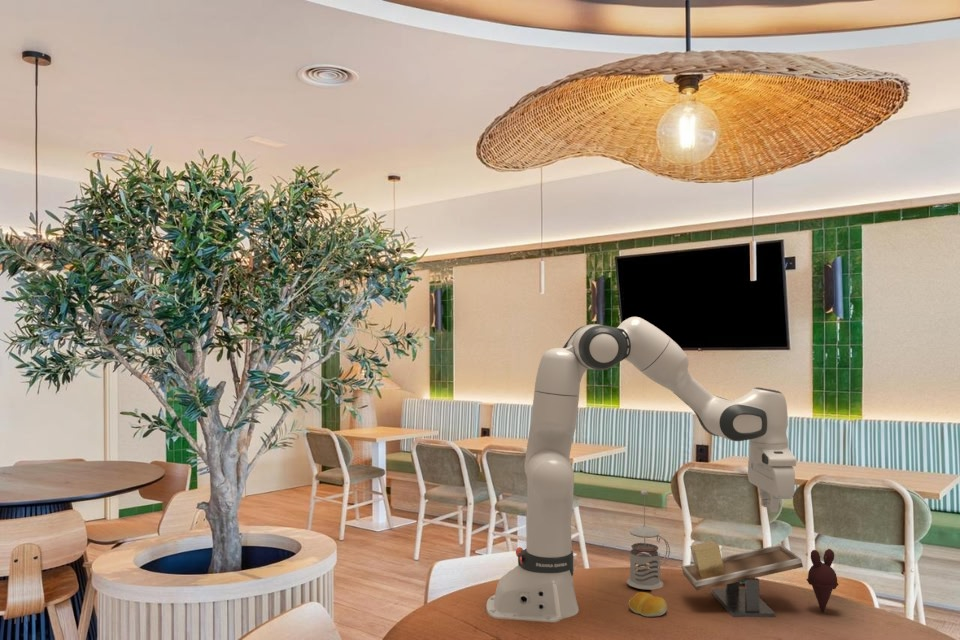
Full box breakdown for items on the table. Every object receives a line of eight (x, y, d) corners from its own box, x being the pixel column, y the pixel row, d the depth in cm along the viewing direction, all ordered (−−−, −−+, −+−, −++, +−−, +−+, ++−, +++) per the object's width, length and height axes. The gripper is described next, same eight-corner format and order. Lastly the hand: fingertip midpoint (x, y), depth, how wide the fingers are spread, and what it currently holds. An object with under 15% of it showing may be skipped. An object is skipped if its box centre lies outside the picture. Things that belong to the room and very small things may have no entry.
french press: (621, 577, 194) (621, 486, 194) (662, 575, 195) (661, 485, 195) (633, 590, 184) (632, 494, 184) (675, 588, 185) (675, 493, 186)
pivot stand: (733, 618, 166) (732, 580, 166) (711, 593, 181) (711, 559, 182) (775, 618, 165) (775, 580, 166) (750, 593, 181) (749, 559, 182)
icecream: (827, 605, 173) (826, 544, 174) (846, 617, 166) (845, 553, 166) (800, 606, 172) (799, 545, 173) (818, 618, 165) (817, 554, 165)
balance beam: (698, 596, 168) (695, 582, 168) (684, 579, 179) (681, 566, 180) (804, 572, 168) (801, 558, 168) (783, 556, 179) (780, 544, 179)
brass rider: (701, 578, 172) (694, 550, 172) (696, 573, 176) (690, 546, 176) (725, 573, 172) (718, 545, 172) (719, 568, 176) (713, 540, 176)
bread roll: (653, 620, 163) (652, 603, 163) (623, 611, 170) (622, 594, 170) (675, 610, 168) (674, 593, 169) (645, 601, 175) (644, 585, 175)
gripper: (741, 446, 185) (741, 499, 184) (772, 460, 164) (773, 519, 164) (765, 446, 184) (765, 499, 184) (799, 460, 164) (800, 519, 164)
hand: (769, 509), depth 174 cm, fingers open, 3 cm apart
